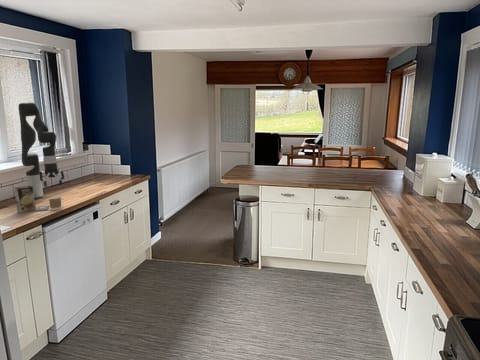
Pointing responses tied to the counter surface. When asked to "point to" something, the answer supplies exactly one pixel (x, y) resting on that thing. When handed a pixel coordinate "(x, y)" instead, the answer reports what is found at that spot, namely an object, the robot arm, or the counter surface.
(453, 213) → the counter surface
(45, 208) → the pad
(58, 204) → the block
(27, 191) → the coffee box
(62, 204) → the pad
